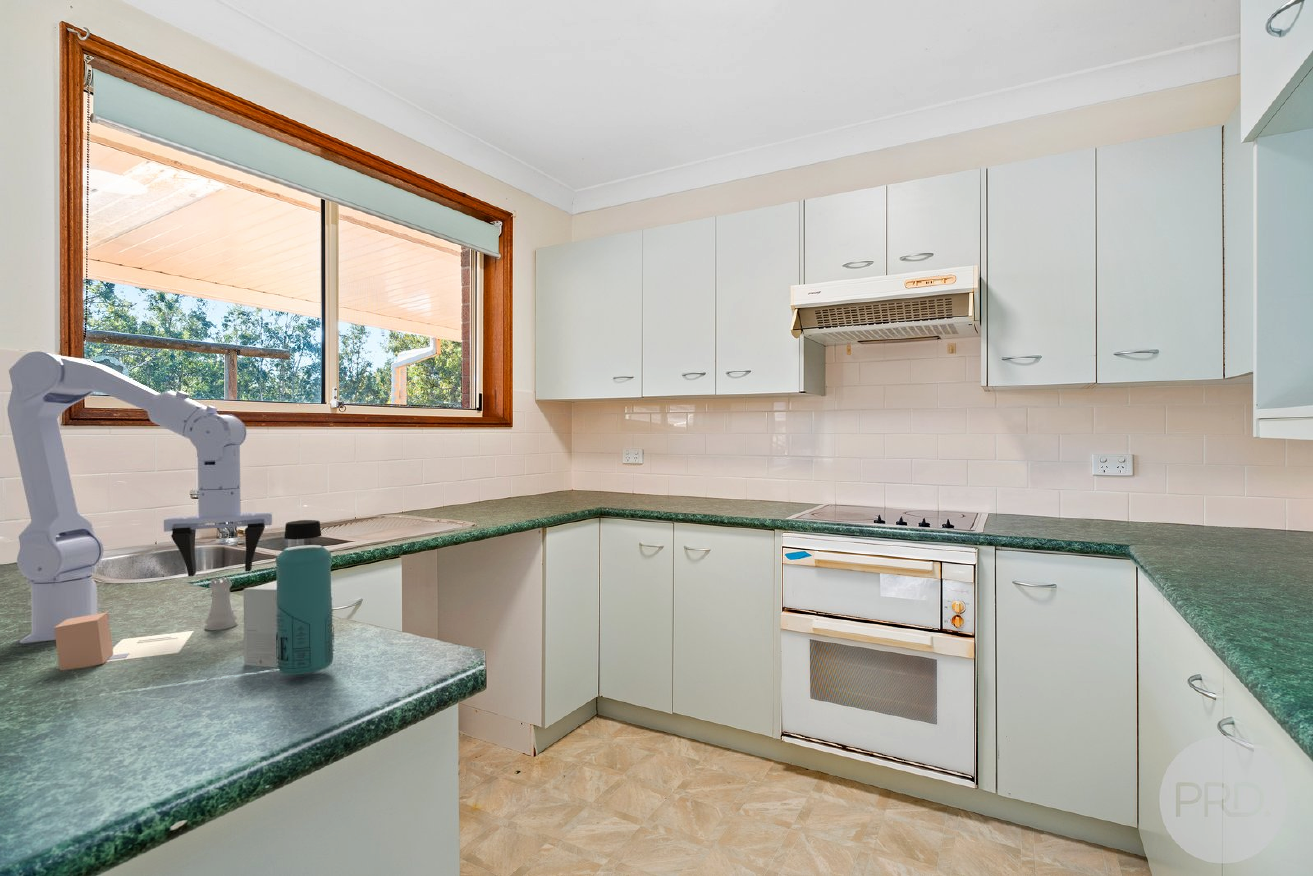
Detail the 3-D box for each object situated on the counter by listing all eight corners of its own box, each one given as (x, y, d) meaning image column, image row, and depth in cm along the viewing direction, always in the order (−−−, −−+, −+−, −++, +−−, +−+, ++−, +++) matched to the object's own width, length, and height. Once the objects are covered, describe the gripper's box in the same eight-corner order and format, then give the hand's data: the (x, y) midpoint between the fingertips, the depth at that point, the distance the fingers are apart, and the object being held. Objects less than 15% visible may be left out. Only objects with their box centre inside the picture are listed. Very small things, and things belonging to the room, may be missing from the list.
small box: (278, 669, 87) (277, 590, 87) (242, 667, 88) (241, 588, 88) (321, 650, 95) (320, 577, 95) (287, 648, 96) (286, 576, 96)
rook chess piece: (214, 624, 109) (214, 576, 109) (243, 624, 109) (242, 575, 109) (198, 632, 104) (197, 582, 104) (227, 631, 105) (227, 581, 105)
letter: (122, 641, 100) (122, 638, 100) (193, 632, 104) (193, 630, 104) (97, 665, 90) (97, 662, 90) (178, 654, 94) (178, 652, 94)
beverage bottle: (346, 671, 86) (344, 517, 86) (303, 690, 80) (301, 524, 80) (307, 666, 88) (305, 516, 88) (262, 684, 82) (261, 522, 82)
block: (72, 662, 91) (66, 619, 91) (113, 654, 93) (107, 612, 93) (60, 672, 87) (53, 627, 87) (103, 663, 89) (97, 620, 89)
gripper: (273, 485, 114) (274, 564, 114) (170, 489, 107) (171, 572, 107) (269, 487, 107) (270, 571, 107) (160, 492, 101) (161, 581, 101)
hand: (220, 572), depth 107 cm, fingers open, 7 cm apart
